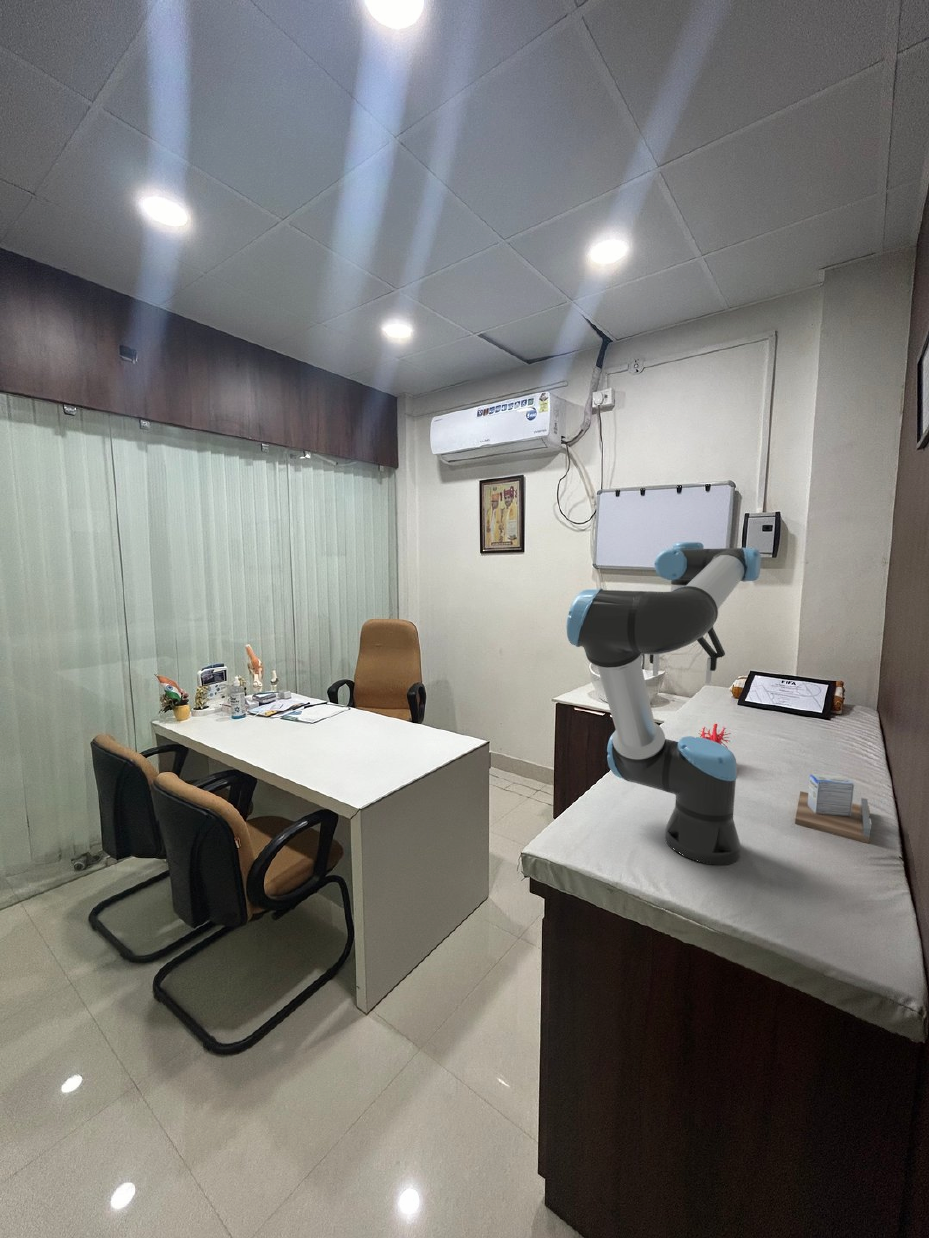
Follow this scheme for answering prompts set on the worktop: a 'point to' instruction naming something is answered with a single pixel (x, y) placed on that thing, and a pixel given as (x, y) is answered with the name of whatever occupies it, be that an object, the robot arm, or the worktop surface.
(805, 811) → the shelf board
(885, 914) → the worktop surface
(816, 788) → the medicine box
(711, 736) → the red branching piece
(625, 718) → the robot arm
